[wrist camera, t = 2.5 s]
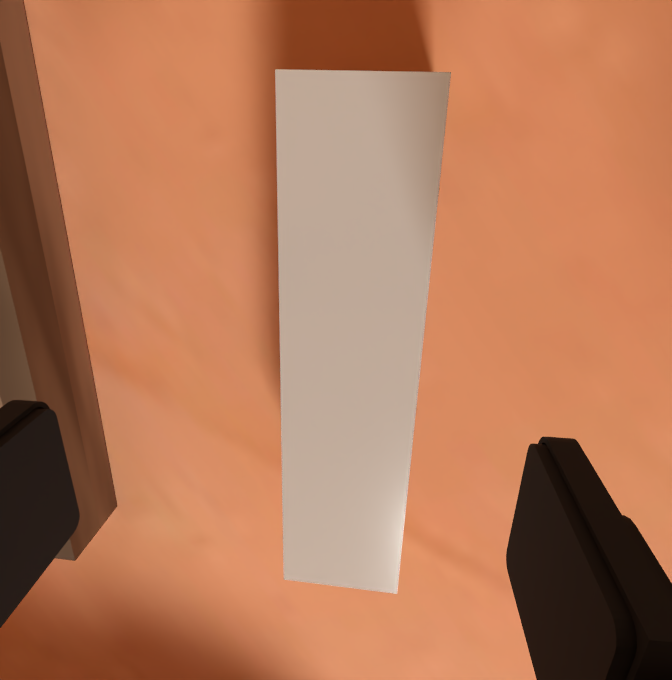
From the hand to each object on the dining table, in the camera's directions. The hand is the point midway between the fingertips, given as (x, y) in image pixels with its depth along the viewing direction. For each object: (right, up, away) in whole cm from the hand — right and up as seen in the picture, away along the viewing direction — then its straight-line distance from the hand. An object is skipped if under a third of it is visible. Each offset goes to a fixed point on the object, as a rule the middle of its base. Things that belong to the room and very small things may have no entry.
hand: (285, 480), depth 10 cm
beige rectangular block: (+2, +4, +10) cm, 11 cm away
